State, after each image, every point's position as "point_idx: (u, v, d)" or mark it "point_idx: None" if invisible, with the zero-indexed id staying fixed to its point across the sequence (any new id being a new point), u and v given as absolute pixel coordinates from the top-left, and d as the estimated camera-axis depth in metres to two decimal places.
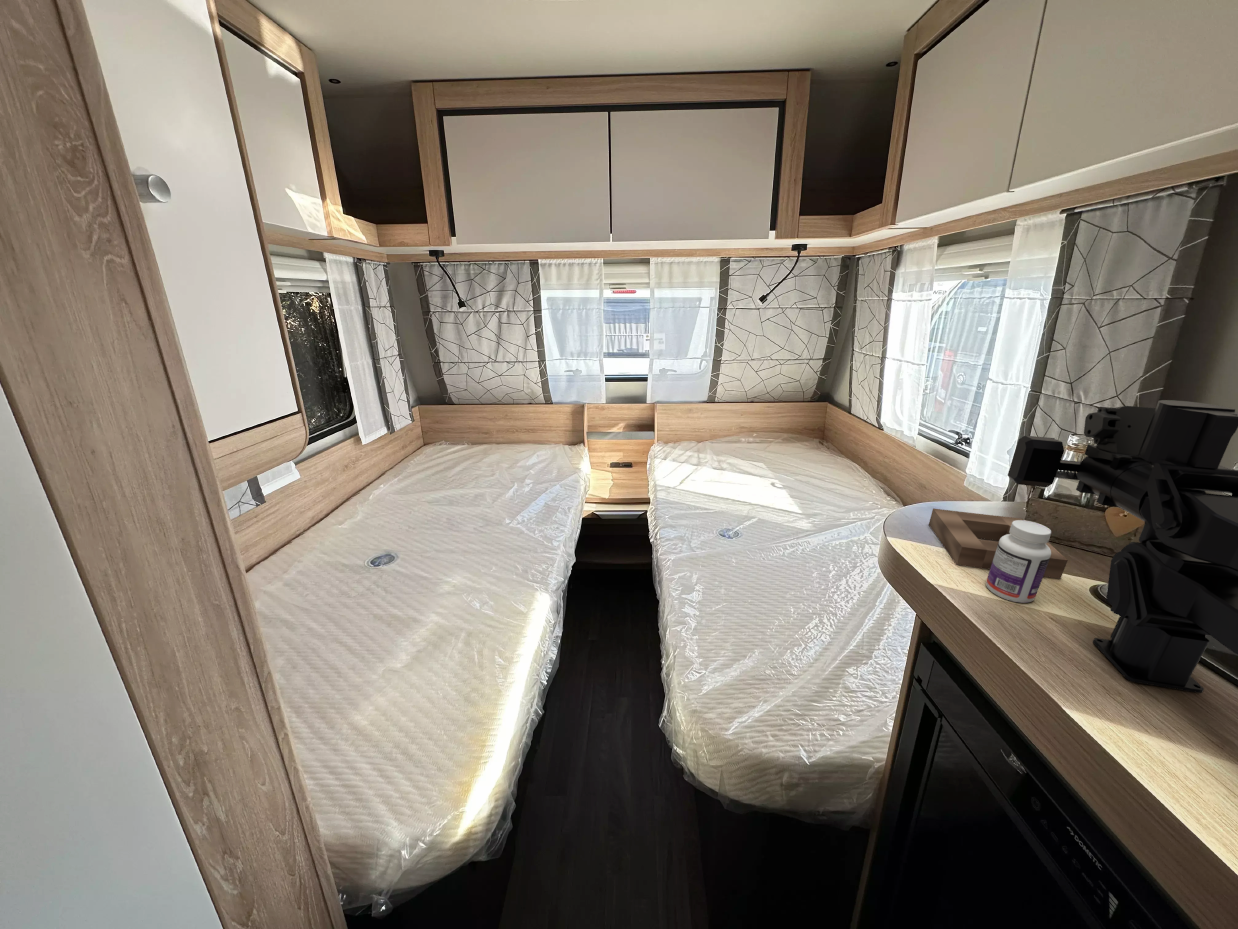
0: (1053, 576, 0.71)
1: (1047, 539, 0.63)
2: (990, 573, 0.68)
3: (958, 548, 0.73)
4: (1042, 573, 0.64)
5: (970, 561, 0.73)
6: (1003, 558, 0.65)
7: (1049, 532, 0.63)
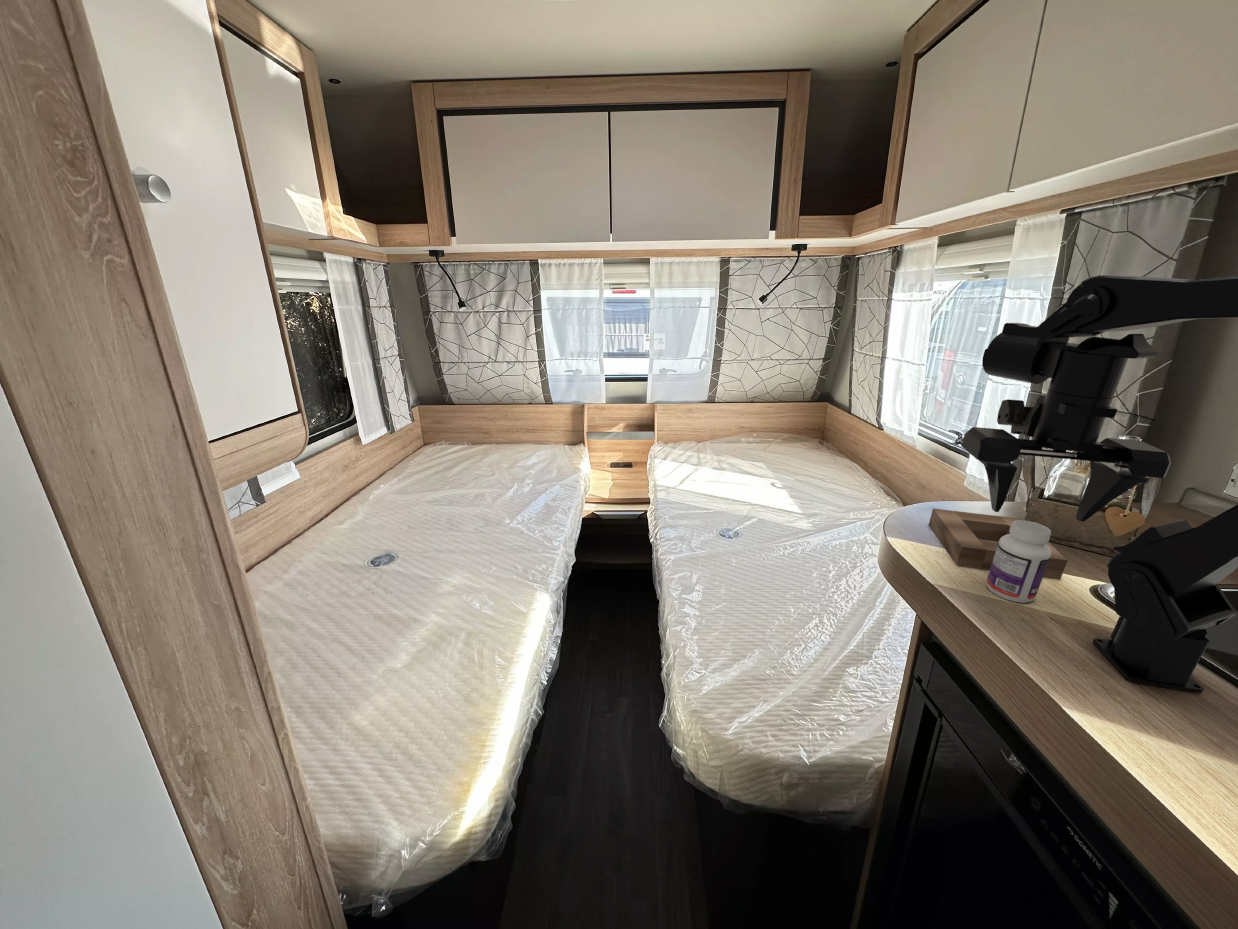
0: (1053, 576, 0.71)
1: (1047, 539, 0.63)
2: (990, 573, 0.68)
3: (958, 548, 0.73)
4: (1042, 573, 0.64)
5: (970, 561, 0.73)
6: (1003, 558, 0.65)
7: (1049, 532, 0.63)
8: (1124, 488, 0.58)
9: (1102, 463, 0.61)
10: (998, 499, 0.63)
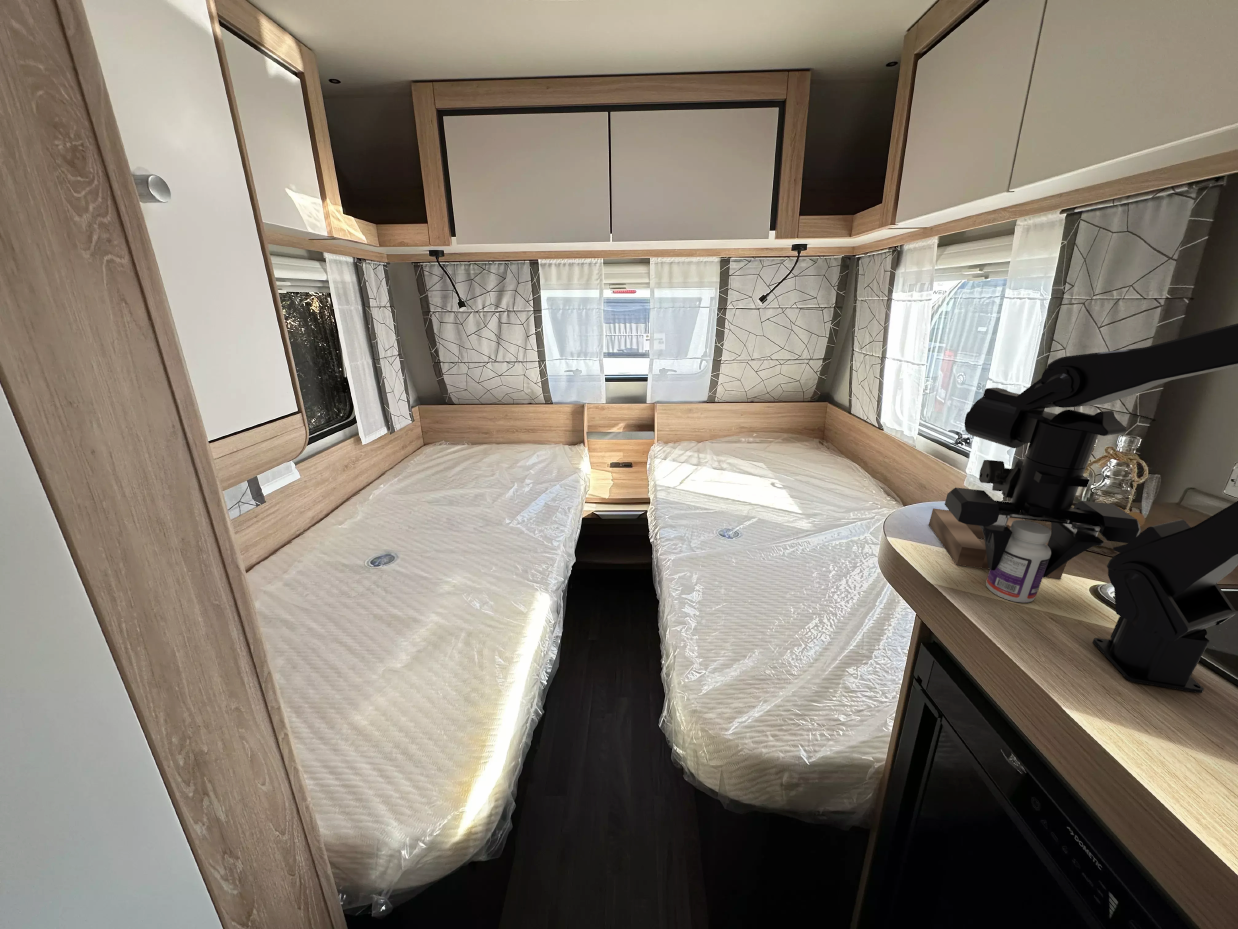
0: (1053, 576, 0.71)
1: (1047, 539, 0.63)
2: (990, 573, 0.68)
3: (958, 548, 0.73)
4: (1042, 573, 0.64)
5: (970, 561, 0.73)
6: (1003, 558, 0.65)
7: (1049, 532, 0.63)
8: (1080, 549, 0.61)
9: (1061, 523, 0.64)
10: (994, 559, 0.65)
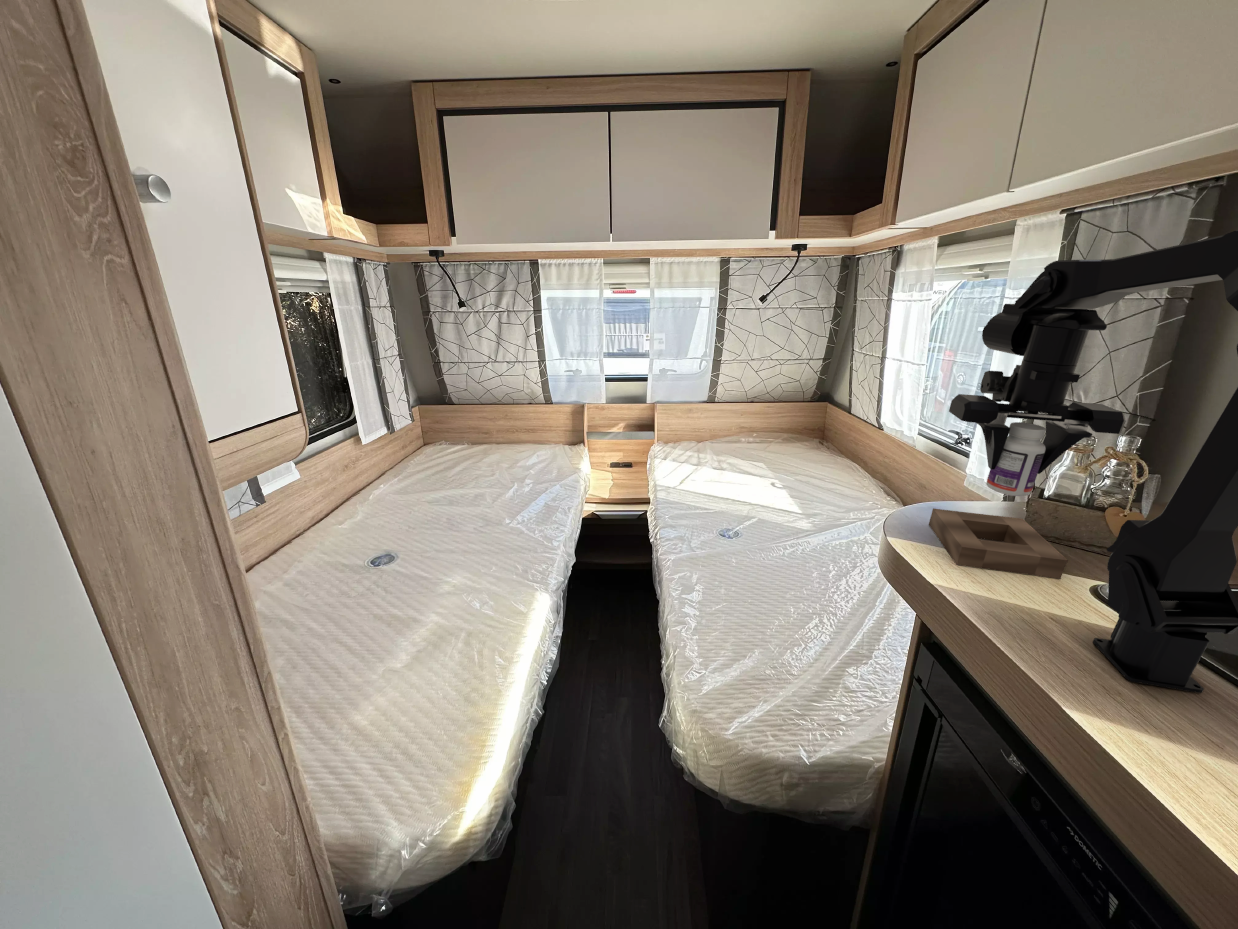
0: (1053, 576, 0.71)
1: (1042, 435, 0.69)
2: (990, 472, 0.74)
3: (958, 548, 0.73)
4: (1037, 467, 0.70)
5: (970, 561, 0.73)
6: (1002, 455, 0.72)
7: (1044, 429, 0.69)
8: (1071, 442, 0.68)
9: (1055, 423, 0.71)
10: (994, 457, 0.72)
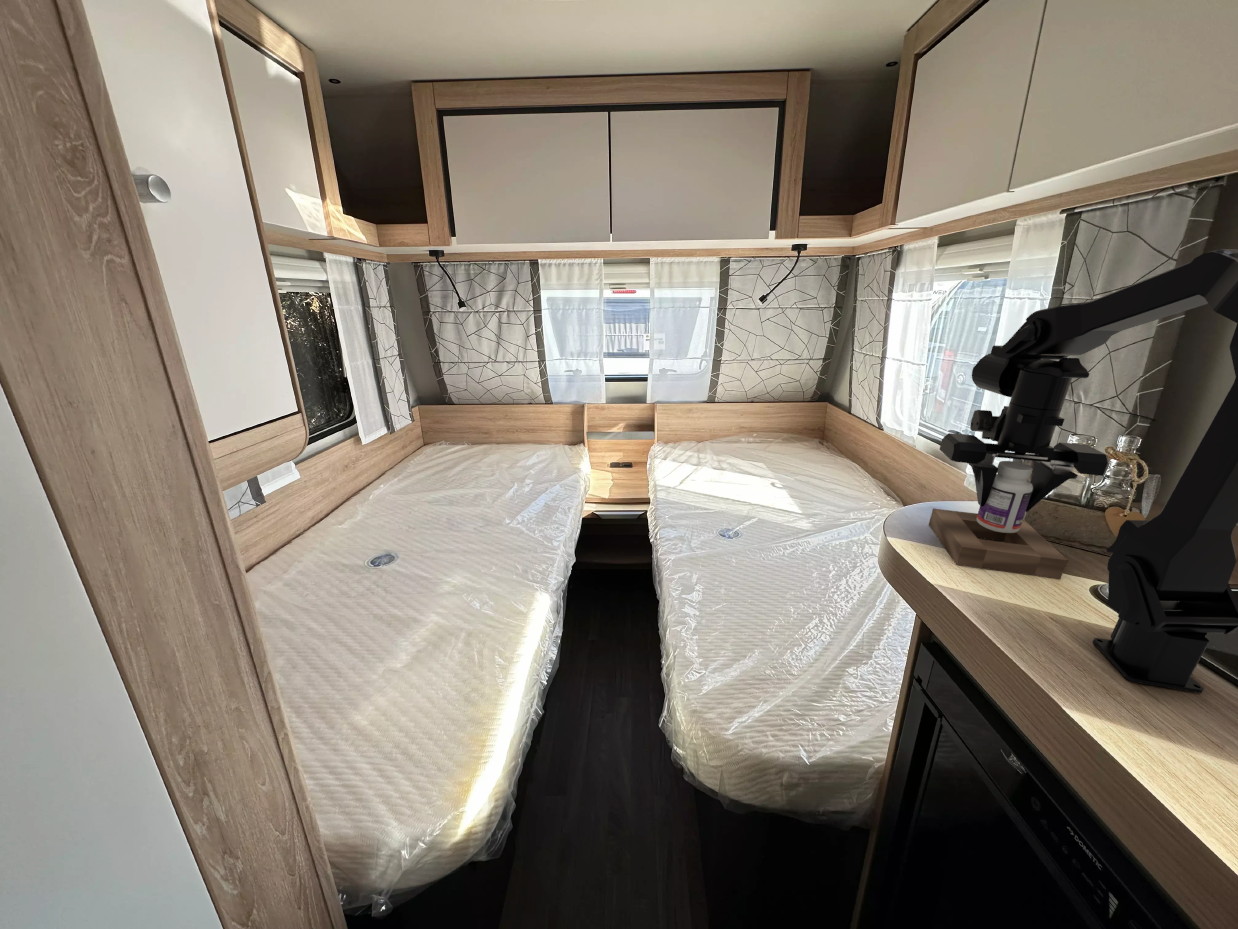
0: (1053, 576, 0.71)
1: (1029, 475, 0.72)
2: (980, 509, 0.76)
3: (958, 548, 0.73)
4: (1025, 505, 0.73)
5: (970, 561, 0.73)
6: (991, 493, 0.74)
7: (1031, 469, 0.72)
8: (1057, 483, 0.70)
9: (1042, 462, 0.73)
10: (983, 495, 0.74)
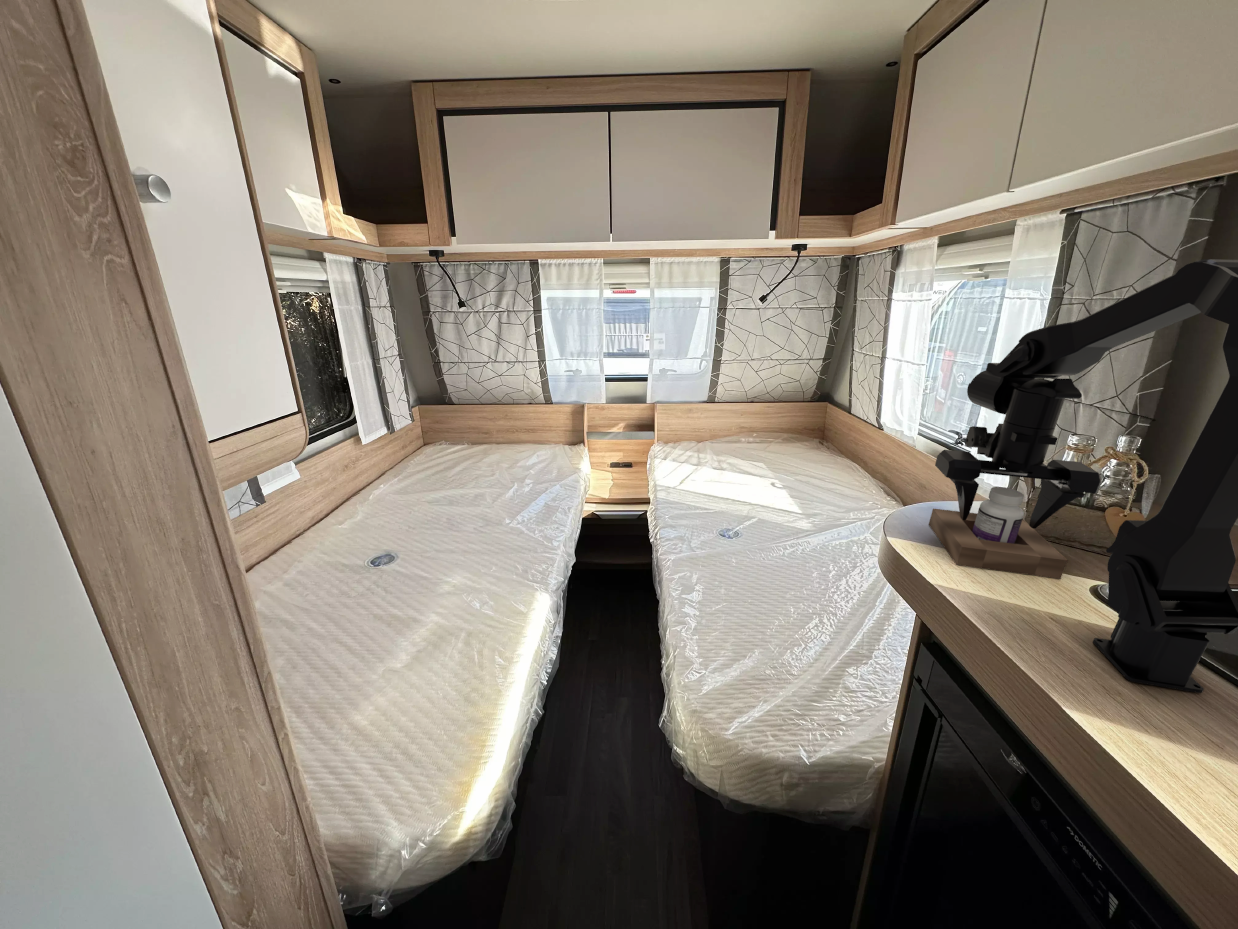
0: (1053, 576, 0.71)
1: (1020, 502, 0.73)
2: None
3: (958, 548, 0.73)
4: (1016, 531, 0.74)
5: (970, 561, 0.73)
6: (982, 519, 0.76)
7: (1022, 496, 0.73)
8: (1065, 501, 0.71)
9: (1049, 480, 0.74)
10: (964, 509, 0.76)
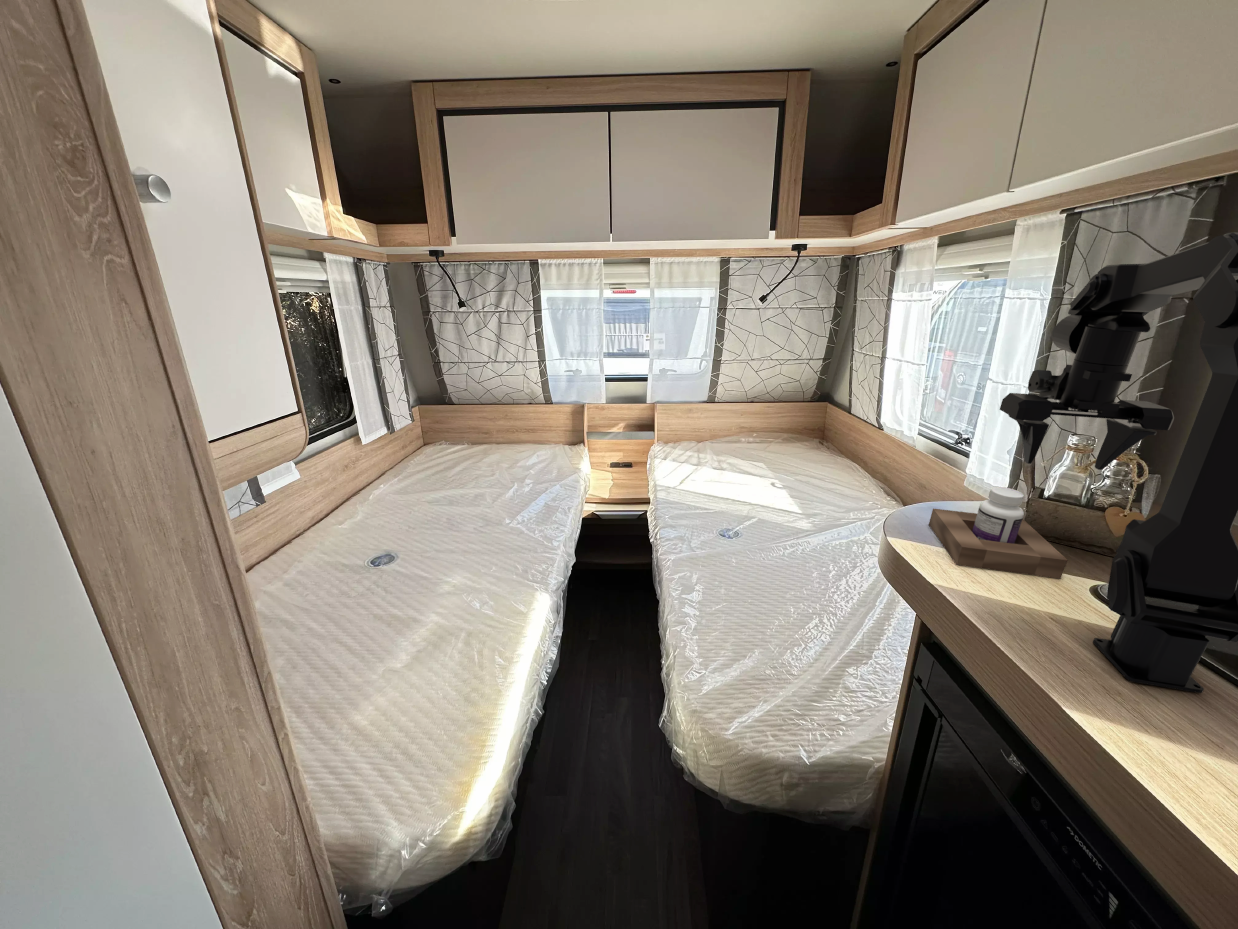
0: (1053, 576, 0.71)
1: (1020, 501, 0.73)
2: None
3: (958, 548, 0.73)
4: (1016, 531, 0.74)
5: (970, 561, 0.73)
6: (982, 519, 0.76)
7: (1022, 495, 0.73)
8: (1136, 440, 0.71)
9: (1117, 421, 0.74)
10: (1031, 452, 0.76)
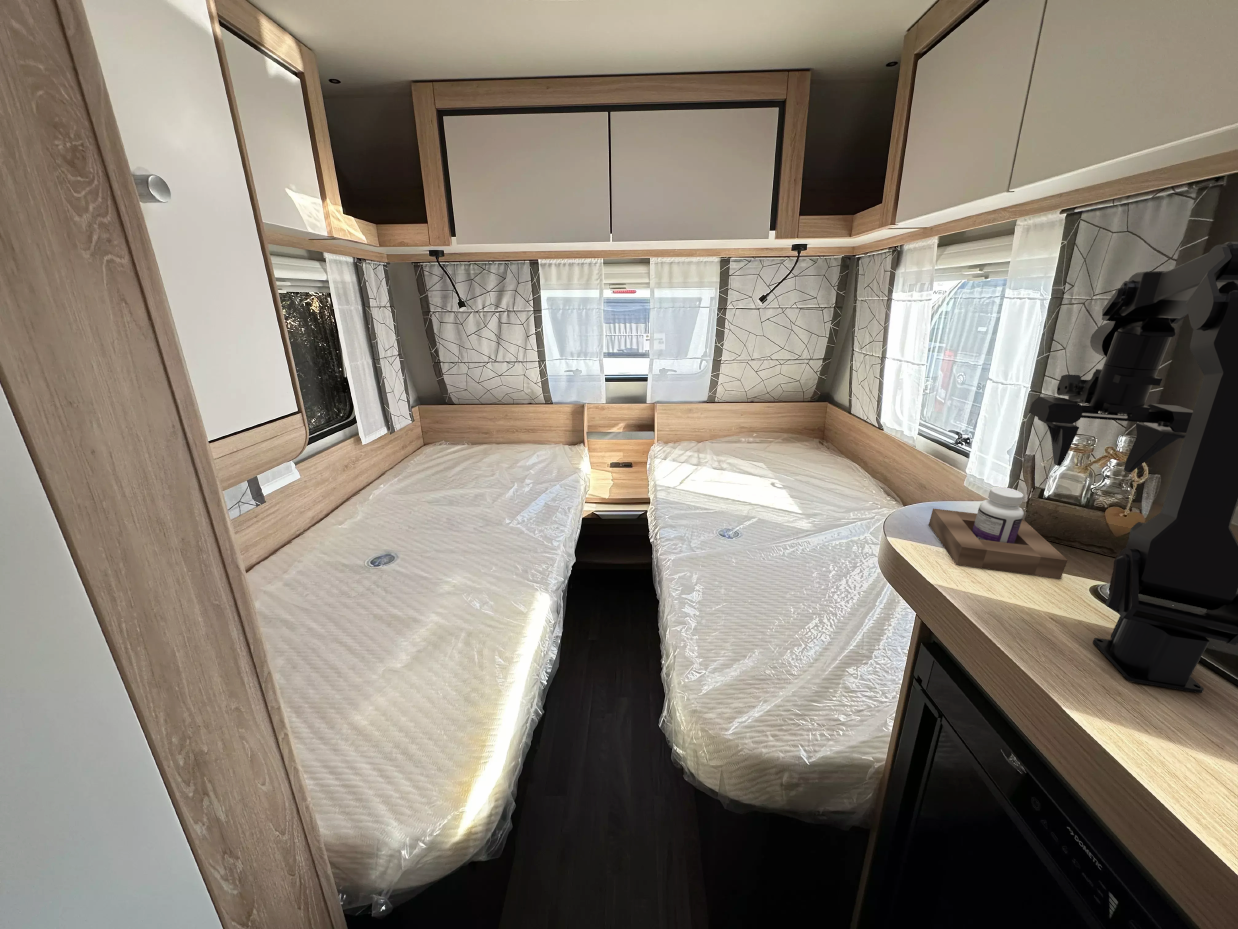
0: (1053, 576, 0.71)
1: (1019, 501, 0.73)
2: None
3: (958, 548, 0.73)
4: (1016, 531, 0.74)
5: (970, 561, 0.73)
6: (982, 519, 0.76)
7: (1021, 495, 0.73)
8: (1166, 443, 0.72)
9: (1146, 424, 0.75)
10: (1061, 454, 0.77)
